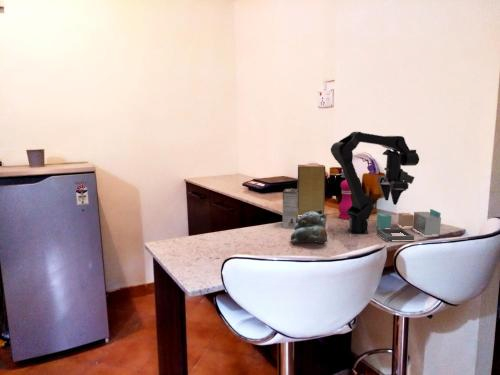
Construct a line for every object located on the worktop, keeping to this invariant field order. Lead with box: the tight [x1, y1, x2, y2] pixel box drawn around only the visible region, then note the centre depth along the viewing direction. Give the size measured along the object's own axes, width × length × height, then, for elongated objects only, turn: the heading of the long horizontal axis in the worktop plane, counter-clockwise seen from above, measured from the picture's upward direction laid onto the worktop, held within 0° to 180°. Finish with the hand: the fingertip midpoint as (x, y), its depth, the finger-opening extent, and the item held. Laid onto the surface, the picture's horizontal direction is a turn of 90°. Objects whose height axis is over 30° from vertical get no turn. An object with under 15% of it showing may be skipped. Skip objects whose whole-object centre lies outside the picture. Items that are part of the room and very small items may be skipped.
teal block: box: [376, 213, 392, 229], centre depth 158 cm, size 4×4×6 cm
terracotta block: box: [397, 212, 414, 227], centre depth 159 cm, size 4×4×6 cm
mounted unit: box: [413, 208, 442, 235], centre depth 149 cm, size 6×10×10 cm, turn 1°
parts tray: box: [376, 228, 415, 241], centre depth 144 cm, size 10×10×2 cm
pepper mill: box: [338, 178, 352, 220], centre depth 175 cm, size 7×7×20 cm
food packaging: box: [296, 164, 326, 215], centre depth 181 cm, size 13×9×25 cm
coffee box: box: [282, 188, 299, 229], centre depth 162 cm, size 9×6×16 cm
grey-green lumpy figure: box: [290, 210, 328, 244], centre depth 139 cm, size 15×12×14 cm
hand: (390, 202), depth 155 cm, fingers open, 9 cm apart
